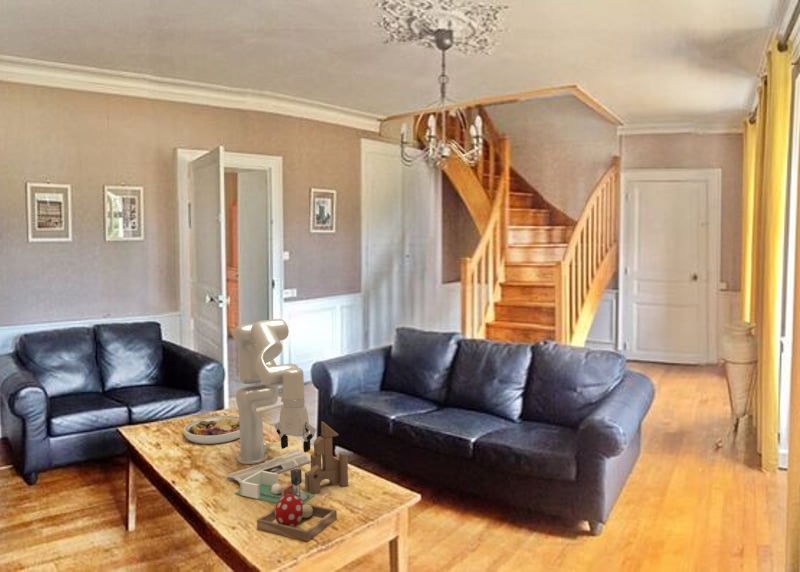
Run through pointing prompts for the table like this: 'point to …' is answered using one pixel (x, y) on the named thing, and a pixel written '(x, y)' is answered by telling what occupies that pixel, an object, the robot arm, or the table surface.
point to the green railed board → (266, 489)
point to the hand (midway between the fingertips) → (295, 449)
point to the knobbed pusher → (294, 485)
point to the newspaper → (274, 465)
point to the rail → (278, 496)
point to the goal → (257, 483)
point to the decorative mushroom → (291, 511)
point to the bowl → (213, 430)
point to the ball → (276, 489)
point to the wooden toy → (326, 463)
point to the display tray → (297, 533)
